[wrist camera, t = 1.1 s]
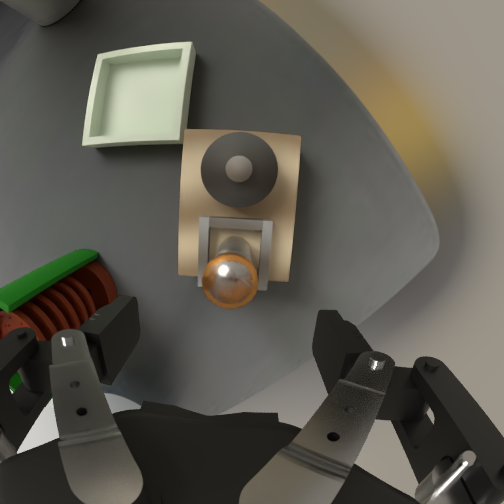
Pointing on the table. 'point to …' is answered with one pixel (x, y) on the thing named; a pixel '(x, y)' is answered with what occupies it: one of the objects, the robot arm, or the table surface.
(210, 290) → the pin
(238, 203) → the pulley block
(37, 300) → the motor
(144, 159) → the table surface
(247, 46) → the table surface
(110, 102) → the tray
